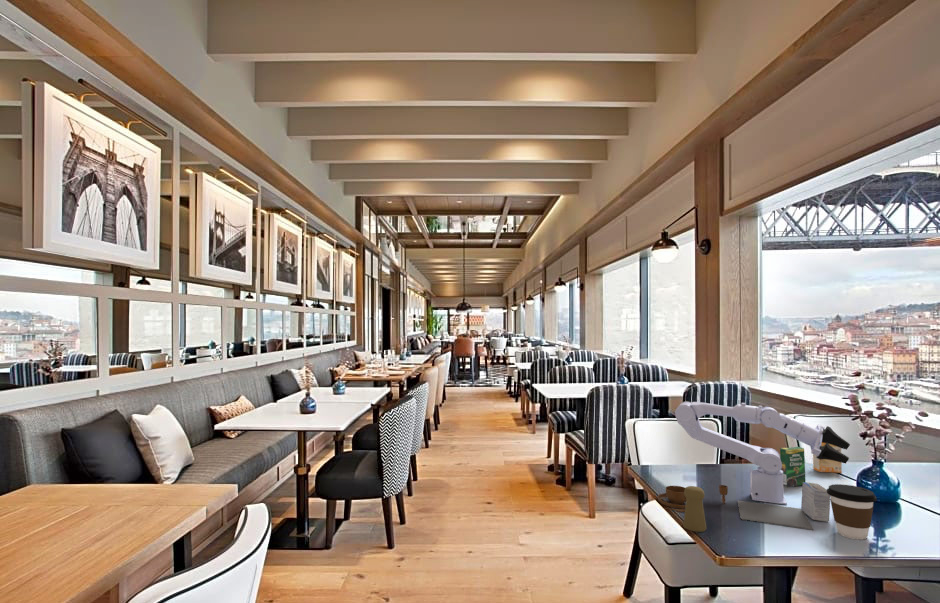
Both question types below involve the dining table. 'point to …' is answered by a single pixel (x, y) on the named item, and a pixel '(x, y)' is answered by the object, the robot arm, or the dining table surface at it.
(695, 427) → the robot arm
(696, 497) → the cork
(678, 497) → the place setting
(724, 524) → the dining table surface
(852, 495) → the coffee cup
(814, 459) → the supplement box
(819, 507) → the medicine box
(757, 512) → the rubber mat
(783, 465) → the coffee box
